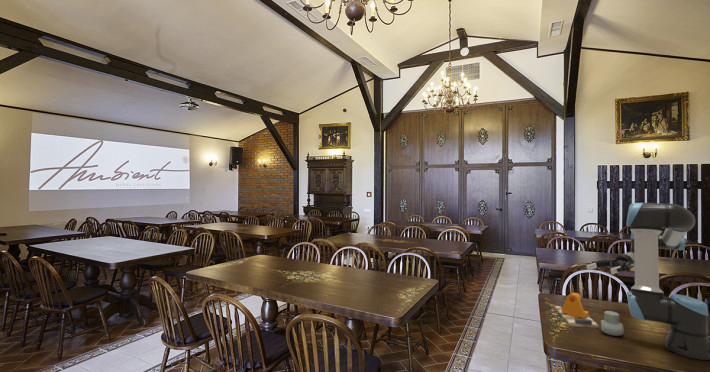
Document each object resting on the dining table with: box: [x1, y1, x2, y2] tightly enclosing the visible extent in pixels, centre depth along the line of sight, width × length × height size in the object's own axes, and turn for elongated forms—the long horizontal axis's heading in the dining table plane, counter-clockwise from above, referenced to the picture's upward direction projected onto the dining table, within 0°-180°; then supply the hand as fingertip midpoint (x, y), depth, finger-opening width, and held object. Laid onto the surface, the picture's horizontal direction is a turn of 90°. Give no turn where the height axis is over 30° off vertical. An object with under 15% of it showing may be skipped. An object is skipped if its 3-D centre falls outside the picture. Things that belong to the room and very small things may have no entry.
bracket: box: [562, 292, 589, 318], centre depth 186 cm, size 11×7×12 cm, turn 36°
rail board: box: [554, 302, 600, 329], centre depth 186 cm, size 26×13×3 cm, turn 164°
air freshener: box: [600, 310, 624, 337], centre depth 166 cm, size 11×8×10 cm
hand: (598, 269), depth 185 cm, fingers open, 13 cm apart
